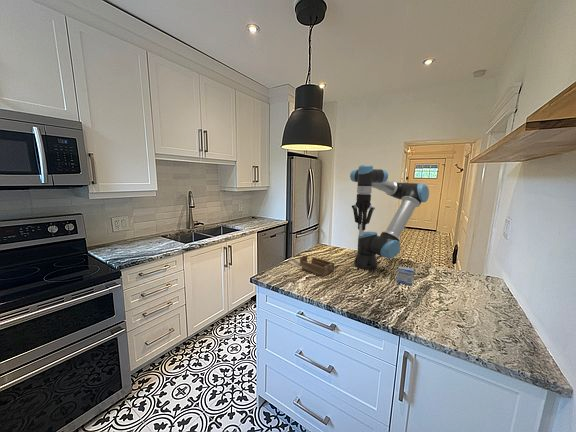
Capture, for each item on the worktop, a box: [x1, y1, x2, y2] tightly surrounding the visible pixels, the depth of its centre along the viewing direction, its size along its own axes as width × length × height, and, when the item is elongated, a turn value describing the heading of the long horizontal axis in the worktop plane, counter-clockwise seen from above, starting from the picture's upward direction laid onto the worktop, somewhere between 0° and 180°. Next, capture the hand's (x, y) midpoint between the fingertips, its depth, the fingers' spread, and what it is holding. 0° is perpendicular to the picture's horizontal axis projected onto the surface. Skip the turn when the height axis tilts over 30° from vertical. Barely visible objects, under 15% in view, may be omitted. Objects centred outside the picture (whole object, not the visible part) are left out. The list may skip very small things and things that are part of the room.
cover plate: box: [286, 254, 308, 269], centre depth 166 cm, size 9×13×7 cm
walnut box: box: [301, 256, 335, 278], centre depth 154 cm, size 12×16×6 cm
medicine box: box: [396, 265, 415, 286], centre depth 139 cm, size 8×4×9 cm, turn 62°
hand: (361, 235), depth 138 cm, fingers closed
